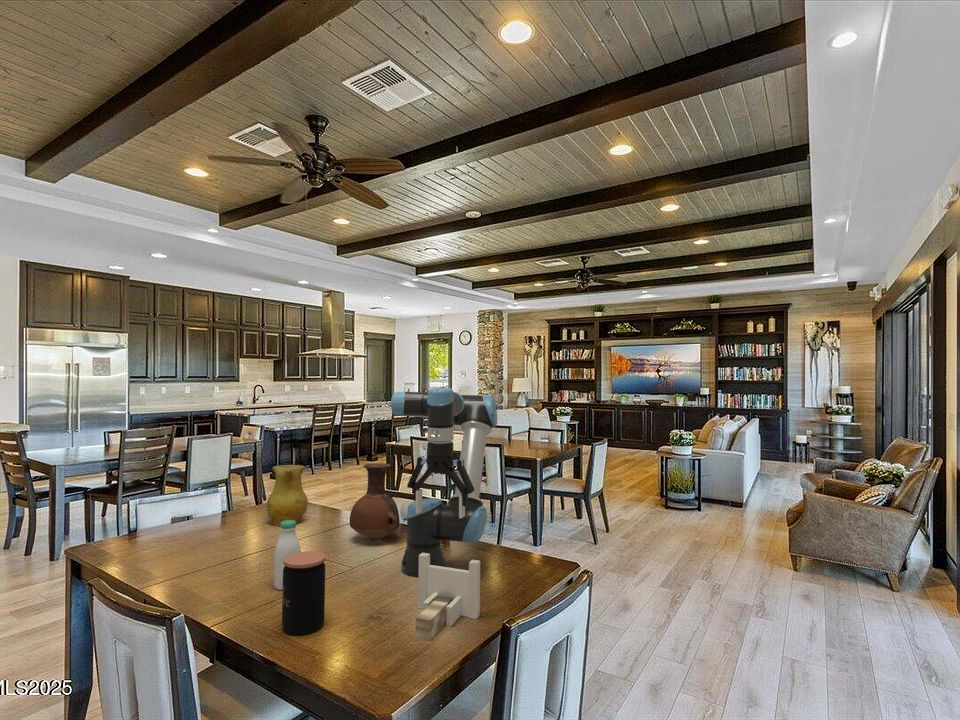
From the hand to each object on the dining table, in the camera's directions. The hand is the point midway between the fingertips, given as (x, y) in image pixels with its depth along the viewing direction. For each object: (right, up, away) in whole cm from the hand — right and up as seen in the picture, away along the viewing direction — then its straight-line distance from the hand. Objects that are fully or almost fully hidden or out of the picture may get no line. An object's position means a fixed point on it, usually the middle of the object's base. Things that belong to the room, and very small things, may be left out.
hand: (440, 514), depth 155 cm
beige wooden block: (0, -26, -14) cm, 29 cm away
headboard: (+2, -26, -8) cm, 27 cm away
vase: (-31, -27, +59) cm, 71 cm away
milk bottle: (-49, -26, +12) cm, 56 cm away
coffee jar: (-35, -26, -14) cm, 46 cm away
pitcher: (-74, -27, +83) cm, 114 cm away
